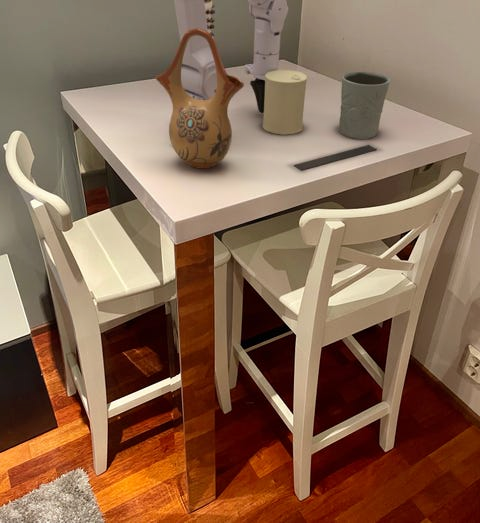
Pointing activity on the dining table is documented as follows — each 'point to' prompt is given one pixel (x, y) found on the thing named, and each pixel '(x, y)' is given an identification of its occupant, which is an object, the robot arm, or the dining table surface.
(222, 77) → the ceramic vessel
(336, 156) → the strip
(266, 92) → the can
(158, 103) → the dining table surface
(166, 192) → the dining table surface
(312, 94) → the dining table surface
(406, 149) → the dining table surface
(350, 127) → the embossed green cup
